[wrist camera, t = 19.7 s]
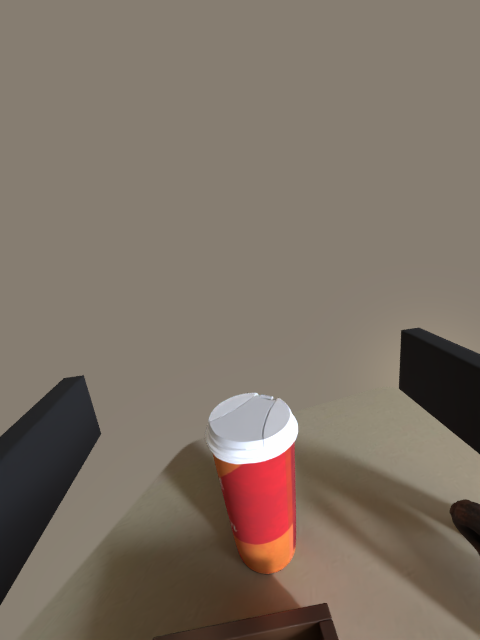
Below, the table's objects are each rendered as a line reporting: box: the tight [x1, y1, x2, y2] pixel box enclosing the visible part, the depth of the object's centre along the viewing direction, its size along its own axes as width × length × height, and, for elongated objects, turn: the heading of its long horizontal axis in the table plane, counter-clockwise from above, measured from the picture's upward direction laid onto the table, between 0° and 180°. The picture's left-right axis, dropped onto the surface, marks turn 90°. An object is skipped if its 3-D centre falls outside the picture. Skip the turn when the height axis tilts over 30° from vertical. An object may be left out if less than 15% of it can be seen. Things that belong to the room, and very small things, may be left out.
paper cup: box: [205, 393, 298, 574], centre depth 25 cm, size 8×8×14 cm
